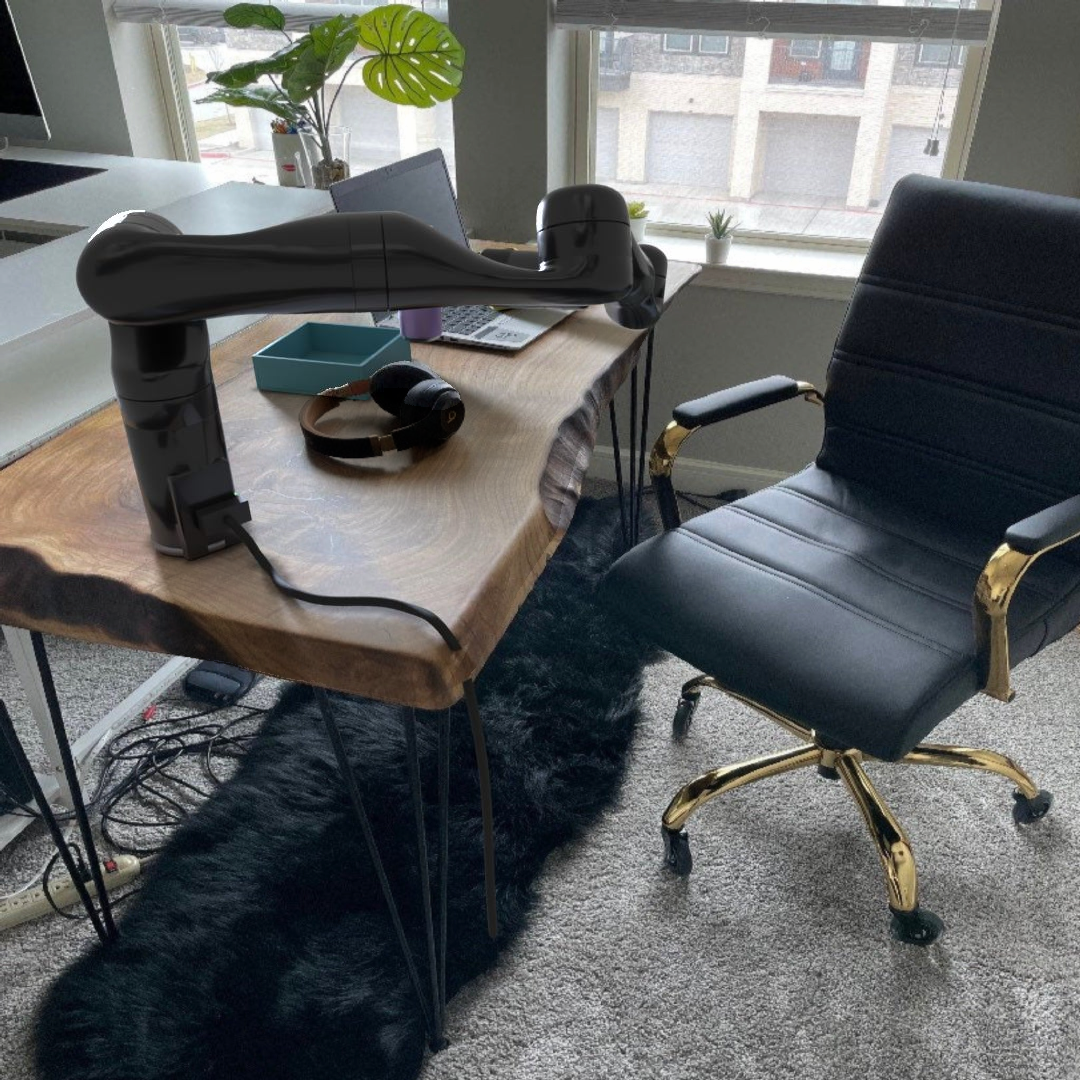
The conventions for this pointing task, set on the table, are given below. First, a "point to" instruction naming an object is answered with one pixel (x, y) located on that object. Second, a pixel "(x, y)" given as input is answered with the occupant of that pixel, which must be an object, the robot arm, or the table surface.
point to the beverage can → (421, 324)
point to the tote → (327, 357)
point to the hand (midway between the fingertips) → (399, 272)
